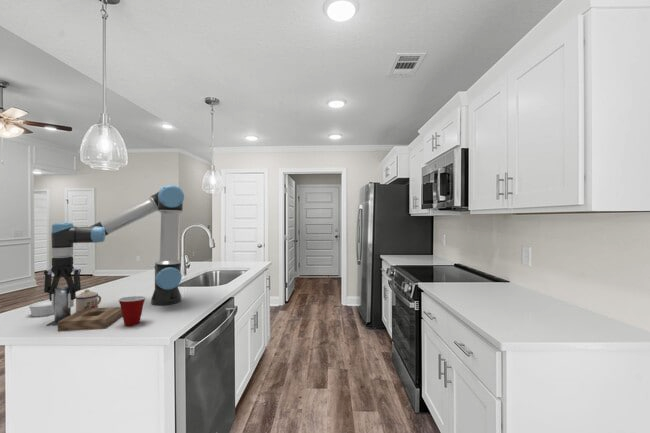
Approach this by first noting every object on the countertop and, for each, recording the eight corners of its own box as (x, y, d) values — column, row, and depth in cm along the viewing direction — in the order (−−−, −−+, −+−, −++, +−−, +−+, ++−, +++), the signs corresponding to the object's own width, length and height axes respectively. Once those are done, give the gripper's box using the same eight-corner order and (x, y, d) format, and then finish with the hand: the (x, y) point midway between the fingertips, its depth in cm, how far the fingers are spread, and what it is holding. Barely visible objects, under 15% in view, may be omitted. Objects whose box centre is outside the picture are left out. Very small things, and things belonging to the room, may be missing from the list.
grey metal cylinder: (73, 317, 143) (73, 285, 143) (65, 321, 138) (65, 288, 138) (59, 318, 142) (59, 286, 142) (51, 322, 137) (51, 289, 136)
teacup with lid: (85, 316, 148) (85, 292, 148) (70, 315, 149) (70, 291, 149) (107, 309, 159) (107, 286, 159) (93, 307, 161) (93, 285, 161)
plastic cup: (151, 320, 143) (151, 294, 143) (135, 328, 132) (135, 300, 132) (129, 319, 144) (129, 293, 144) (112, 327, 133) (111, 300, 133)
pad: (77, 318, 145) (77, 317, 145) (67, 324, 137) (67, 323, 137) (58, 319, 143) (58, 318, 143) (46, 325, 135) (46, 324, 135)
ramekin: (65, 311, 155) (65, 301, 155) (40, 318, 145) (40, 307, 145) (49, 309, 158) (49, 299, 158) (23, 316, 148) (23, 305, 148)
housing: (124, 314, 150) (124, 306, 150) (105, 328, 133) (105, 319, 133) (82, 317, 147) (82, 308, 147) (57, 331, 129) (57, 321, 129)
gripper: (90, 255, 145) (90, 303, 145) (44, 255, 142) (44, 305, 142) (81, 257, 138) (81, 308, 138) (32, 258, 134) (32, 311, 134)
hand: (62, 307), depth 140 cm, fingers open, 6 cm apart
